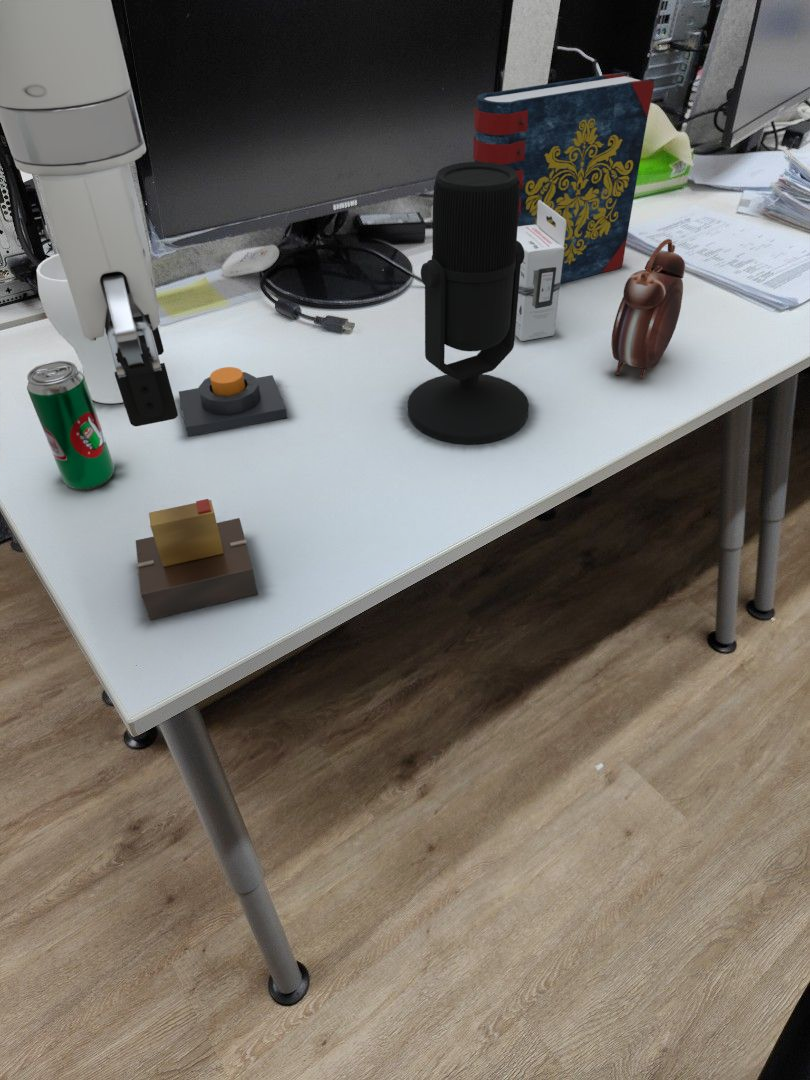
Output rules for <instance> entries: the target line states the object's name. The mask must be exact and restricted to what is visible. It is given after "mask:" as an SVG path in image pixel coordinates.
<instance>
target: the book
mask: <svg viewBox="0 0 810 1080" xmlns="http://www.w3.org/2000/svg"><path fill="white" fill-rule="evenodd" d="M654 81H655V79H653V78H647V79H637V78H633V77H631V76H628V72H626V71H621V72H616V73H608V74H607V73H606V74H602V75H597V76H591V77H584V78H583V77H582V78H578V79H571V80H564V81H558V82H551V83H545V84H539V85H532V86H525V87H519V88H518V87H517V88H514V89H513V88H512V89H506V90H500V91H494V92H484V93H480V94H478V95H477V96H476V106H475V107H474V116H473V117H474V123H473V125H474V127H473V128H474V131H475V135H474V137H473V146H472V147H473V150H472V151H473V152H472V154H473V155H472V158H473V160H474V162H488V163H496V164H501V165H505V166H508V167H511V168H512V169H514V170H515V171H516V172H517V175H518V179H519V215H518V226H526V225H537V209H538V205H537V204H538V200H541V201H542V202H543V203H544V204H546V205H547V206H549V207H550V208H551V209H553V210H554V211H555V212H557V213H558V214H559V215H560V216H562V217H563V218H564V219H566V224H567V225H566V233H565V242H564V256H563V264H562V272H561V280H560V285H561V284H565V283H568V282H572V281H576V280H580V279H584V278H588V277H591V276H595V275H599V274H603V273H606V272H611V271H615V270H618V269H621V268H623V264H624V259H625V252H626V246H627V238H628V234H629V229H630V223H631V216H632V210H633V205H634V200H635V193H636V187H637V181H638V176H639V169H640V164H641V159H642V158H641V157H642V153H643V146H644V140H645V135H646V129H647V123H648V117H649V113H650V109H651V102H652V99H653V93H654V88H655V82H654ZM547 221H548V222H549V223H550V224H551V225H553V226H554V227H556V223H555V222H554V221H553V220H552V217H548V216H547Z"/></svg>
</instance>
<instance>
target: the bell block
mask: <svg viewBox="0 0 810 1080" xmlns="http://www.w3.org/2000/svg"><path fill="white" fill-rule="evenodd" d="M242 372H243V377H244V383H245V389H244V390H243V391H241V392H239V393H238V394H234V395H229V396H223V395H216V394H215V393H214V392H213V390H212V385H211V380H210V376H209V377H207V378H204V379H203V381H202V382H201V383H200V385H199V386H198V387H197V388H191V389H190V388H189V389H183V390H179V391H178V397H179V401H180V406H181V410H182V415H183V420H184V425H185V430H186V433H187V437H192V436H198V435H203V434H208V433H212V432H213V433H214V432H218V431H223V430H228V429H229V430H231V429H233V428H240V427H244V426H245V427H246V426H250V425H256V424H260V423H266V422H272V421H276V420H281V419H282V420H283V419H287V418H288V413H287V408H286V404H285V403H284V400H283V398H282V395H281V392H280V390H279V387H278V385H277V383H276V380H275V378H274V376H273V374H271V375H264V376H259V377H256V376H254V375H252V374H250V373H248V372H246V371H242Z"/></svg>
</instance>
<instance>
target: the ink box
mask: <svg viewBox="0 0 810 1080" xmlns="http://www.w3.org/2000/svg"><path fill="white" fill-rule="evenodd" d="M537 205H538V209H537V225H526V226H518V228H517V241H519V242H520V243H521V244H522V246H523V248H524V260H523V262H522V264H521V267H520V279H519V292H518V304H517V316H516V329H515V337H517V338H518V340H519V341H520V342H526V341H531V340H537V339H542V338H548V337H553V336H554V335H555V330H556V321H557V314H558V305H559V299H560V298H559V297H560V287H561V284H560V280H561V272H562V264H563V256H564V242H565V233H566V225H567V224H566V219H564V218H563V217H562V216H560V215H559V214H558V213H557V212H555V211H554V210H553V209H551V208H550V207H549V206H547V205H546V204H544V203H543V202H542V201H541V200H538V204H537ZM547 216H548V217H552V220H553V221H554V222H555V223H556V227H554V226H553V225H551V224H550V223H549V222H548V221H547Z"/></svg>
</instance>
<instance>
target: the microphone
mask: <svg viewBox="0 0 810 1080" xmlns="http://www.w3.org/2000/svg"><path fill="white" fill-rule="evenodd" d="M518 215H519V179H518V175H517V172H516V171H515V170H514V169H512V168H511V167H508V166H505V165H501V164H496V163H488V162H475V161H467V162H459V163H453V164H450V165H446V166H444V167H442V168H440V169H439V170H438V171H437V173H436V176H435V179H434V185H433V196H432V255H431V259H428V260H427V261H426V262H424V263H423V264H422V266H421V268H420V278H421V281H422V283H423V285H424V356H425V360H426V361H427V362H429V363H430V364H431V365H432V366H434V367H435V368H437V369H438V370H439V371H440V372H442V373H443V374H444V375H443V374H442V375H440V376H436V377H434V378H431V379H428V380H426V381H424V382H422V383H421V384H419V385H418V386H416V388H415V389H413V391H412V392H411V393H410V395H409V396H408V400H407V416H408V418H409V420H410V422H411V424H413V425H414V427H415V428H416V429H418V430H419V431H420V432H422V433H423V434H425V435H427V436H429V437H430V438H433V439H436V440H439V441H443V442H446V443H447V442H448V443H451V444H460V445H480V444H486V443H487V444H488V443H493V442H496V441H500V440H503V439H505V438H508V437H510V436H512V435H514V434H515V433H517V432H518V431H519V430H520V429H521V428H523V426H524V425H525V424H526V422H527V420H528V417H529V408H530V404H529V400H528V397H527V396H526V394H525V393H524V392H523V391H522V389H520V388H519V387H518V386H516V385H515V384H513V383H511V382H510V381H507V380H506V379H503V378H502V377H501V378H500V377H497V376H495V375H490V374H487V373H490V372H492V371H494V370H495V369H497V367H498V366H499V365H500V364H501V363H502V362H503V361H504V359H506V357H507V356H508V355H509V354H510V353H511V352H512V350H513V349H514V347H515V341H516V335H515V329H516V316H517V304H518V292H519V279H520V267H521V264H522V262H523V260H524V248H523V246H522V244H521V243H520V242H519V241H517V228H518ZM445 346H447V347H449V348H452V349H453V350H458V351H460V352H461V351H462V352H478V353H477V354H476V355H473V356H469V357H467V358H463V359H460V360H457V361H454V362H449V363H445V355H446V354H445V353H446V351H445V349H446V348H445Z"/></svg>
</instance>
